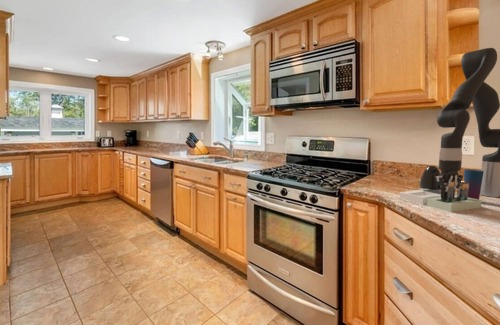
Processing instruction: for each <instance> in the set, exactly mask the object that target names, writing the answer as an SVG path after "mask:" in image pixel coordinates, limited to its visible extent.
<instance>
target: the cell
mask: <svg viewBox="0 0 500 325" xmlns="http://www.w3.org/2000/svg"><path fill="white" fill-rule="evenodd" d="M444 184H447V183H444ZM444 187H445V185H444ZM453 192H454V181H451V184H450V186H449V187H448V197H447V200H442V202H445V203H451V202H453Z"/></svg>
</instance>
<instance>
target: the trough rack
mask: <svg viewBox="0 0 500 325" xmlns="http://www.w3.org/2000/svg"><path fill="white" fill-rule="evenodd" d="M482 200H483V199H479V200H478V199H473V198H468V200H465V201H458V202H457V194H455V197H454V199H453V202H451V203H445V202H442V199H441V197H438V198H431V199H427V204H426V206H427V207H429V208H434V209H437V210H438V209H439V210H442V211H445V212H449V213H454V212H461V211H466V210H473V209H478V208H482Z"/></svg>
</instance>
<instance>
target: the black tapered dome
mask: <svg viewBox="0 0 500 325" xmlns="http://www.w3.org/2000/svg"><path fill="white" fill-rule="evenodd" d="M440 173H441V170H440V169H439V167H438V166H436V165H428V166H426V167H425V169H424V171H422V175H421V177H420V180H419V185H418V187H419V190H424V189H431V190H436V191H441V190H439V189H437V186H436V182H435V176H437V177H438V176H440ZM440 187H441V185H440Z"/></svg>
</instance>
